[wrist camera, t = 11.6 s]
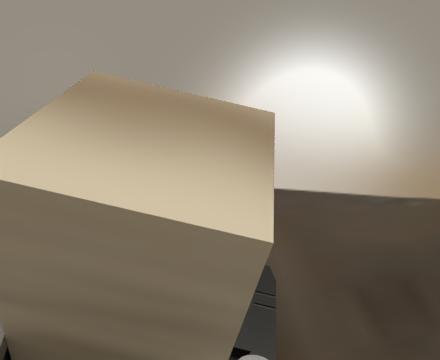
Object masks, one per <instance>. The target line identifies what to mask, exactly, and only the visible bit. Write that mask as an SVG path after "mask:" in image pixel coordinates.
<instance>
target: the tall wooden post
mask: <svg viewBox="0 0 440 360" xmlns="http://www.w3.org/2000/svg"><path fill="white" fill-rule="evenodd" d="M274 122H275V113H273V112H268V111H264V110H259V109H255V108H251V107H247V106H242V105H238V104H233V103H229V102H225V101H221V100H216V99H212V98H208V97H203V96H199V95H194V94H190V93H186V92H181V91H178V90H173V89H169V88H165V87H160V86H156V85H151V84H147V83H143V82H138V81H134V80H130V79H125V78H121V77H117V76H112V75H108V74H104V73H100V72H95V71H93V72H92V73H90V74H89V75H88V76H86V77H85V78H83V79H82V80H81V81H79V82H78V83H76V84H75V85H74V86H72V87H71V88H70V89H68V90H67V91H65V92H64V93H63V94H61V95H60V96H59V97H57V98H56V99H54V100H53V101H52V102H50V103H49V104H47V105H46V106H45V107H43V108H42V109H41V110H39V111H38V112H37V113H35V114H34V115H32V116H31V117H29V118H28V119H27V120H25V121H24V122H23V123H21V124H20V125H18V126H17V127H16V128H14V129H13V130H12V131H10V132H9V133H7V134H6V135H5V136H3V137H2V138H0V321H1V325H2V328H3V332H4V335H5V339H6V342H7V346H8V349H9V353H10V356H11V360H229V357H230V355H231V352H232V349H233V347H234V344H235V341H236V339H237V336H238V334H239V331H240V328H241V326H242V323H243V321H244V318H245V315H246V313H247V310H248V308H249V305H250V302H251V300H252V297H253V295H254V292H255V289H256V287H257V284H258V282H259V279H260V276H261V274H262V271H263V268H264V266H265V263H266V261H267V258H268V255H269V253H270V250H271V248H272V245H273V223H274V133H275V132H274V131H275V123H274Z"/></svg>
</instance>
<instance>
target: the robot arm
mask: <svg viewBox="0 0 440 360" xmlns="http://www.w3.org/2000/svg"><path fill="white" fill-rule="evenodd" d="M275 296H276V280H275V278H274V276H273V273H272V271H271V269H270V266H266V265H265V266H264V268H263V271H262V274H261V276H260V279H259V282H258V284H257V287H256V289H255V292H254V295H253V297H252V300H251V302H250V305H249V308H248V310H247V313H246V315H245V318H244V321H243V323H242V326H241V328H240V331H239V334H238V336H237V339H236V341H235V344H234V347H233V349H232V352H231V355H230V357H229V360H276V311H275V308H276V298H275ZM0 360H11V356H10V353H9V349H8V346H7V342H6V339H5V335H4V332H3V328H2V325H1V321H0Z"/></svg>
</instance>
